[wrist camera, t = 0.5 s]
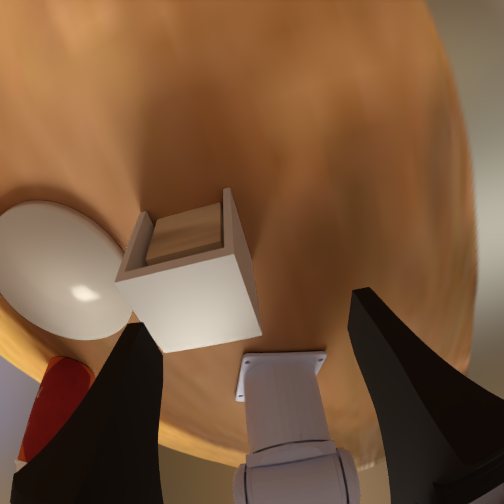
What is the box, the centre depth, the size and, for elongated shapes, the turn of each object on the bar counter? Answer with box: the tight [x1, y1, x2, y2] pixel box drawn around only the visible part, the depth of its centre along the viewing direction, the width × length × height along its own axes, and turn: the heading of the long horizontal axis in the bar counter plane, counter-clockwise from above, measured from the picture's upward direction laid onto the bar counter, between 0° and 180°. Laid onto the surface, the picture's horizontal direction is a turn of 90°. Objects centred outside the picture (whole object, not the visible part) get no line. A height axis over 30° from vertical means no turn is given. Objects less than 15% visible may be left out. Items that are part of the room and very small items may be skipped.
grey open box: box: [114, 187, 262, 353], centre depth 17 cm, size 6×6×6 cm
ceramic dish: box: [0, 200, 132, 340], centre depth 20 cm, size 13×13×1 cm
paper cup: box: [14, 356, 95, 471], centre depth 23 cm, size 8×8×14 cm
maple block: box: [146, 202, 224, 266], centre depth 18 cm, size 4×4×4 cm
